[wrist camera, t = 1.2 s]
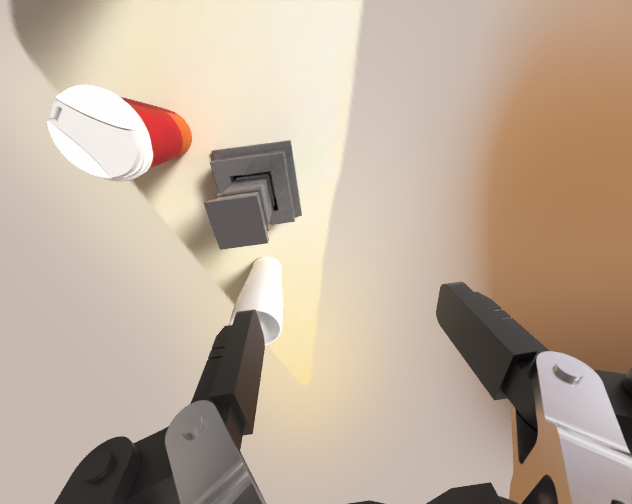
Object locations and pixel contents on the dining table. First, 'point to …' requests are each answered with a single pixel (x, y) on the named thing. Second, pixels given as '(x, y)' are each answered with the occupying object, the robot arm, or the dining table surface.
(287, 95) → the dining table surface
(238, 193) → the column
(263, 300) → the drinking glass
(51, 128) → the paper cup
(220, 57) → the dining table surface
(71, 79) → the dining table surface
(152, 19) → the dining table surface
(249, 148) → the sleeve
